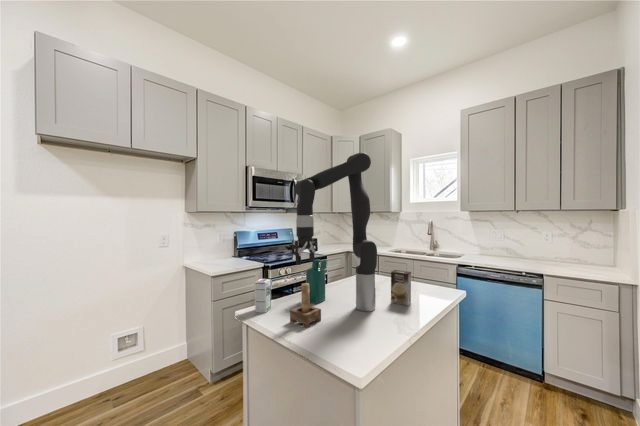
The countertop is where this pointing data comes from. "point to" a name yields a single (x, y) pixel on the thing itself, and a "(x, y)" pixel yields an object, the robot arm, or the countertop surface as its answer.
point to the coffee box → (401, 287)
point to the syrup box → (262, 295)
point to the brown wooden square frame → (305, 315)
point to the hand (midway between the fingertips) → (305, 263)
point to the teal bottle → (316, 281)
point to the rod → (305, 298)
